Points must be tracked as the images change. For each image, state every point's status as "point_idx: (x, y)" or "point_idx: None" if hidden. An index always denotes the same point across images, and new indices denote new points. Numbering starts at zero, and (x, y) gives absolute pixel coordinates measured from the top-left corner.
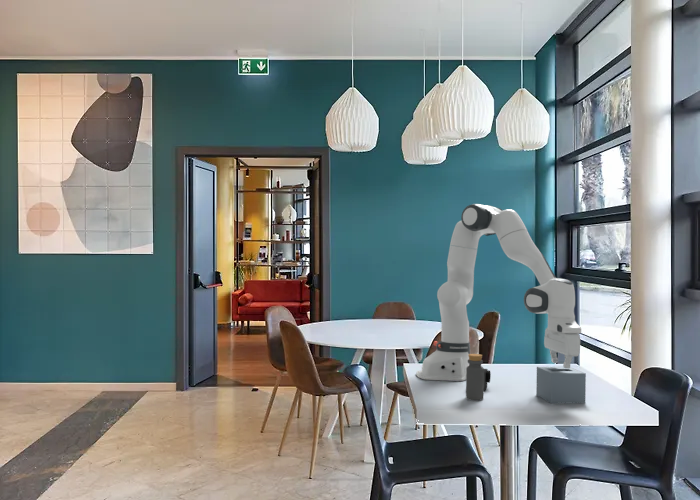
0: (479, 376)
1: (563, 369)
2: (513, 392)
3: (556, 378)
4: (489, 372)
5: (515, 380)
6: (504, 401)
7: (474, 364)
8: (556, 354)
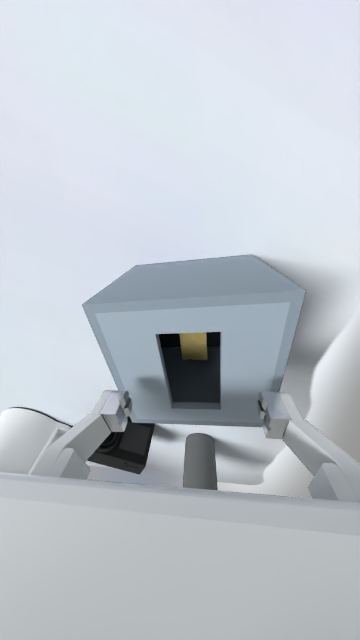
0: None
1: (160, 353)
2: None
3: None
4: (104, 445)
5: (2, 346)
6: None
7: None
8: (79, 433)
